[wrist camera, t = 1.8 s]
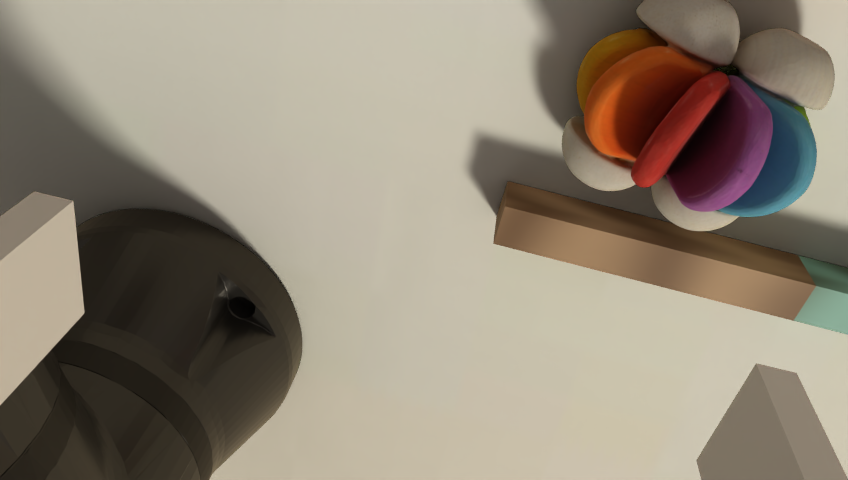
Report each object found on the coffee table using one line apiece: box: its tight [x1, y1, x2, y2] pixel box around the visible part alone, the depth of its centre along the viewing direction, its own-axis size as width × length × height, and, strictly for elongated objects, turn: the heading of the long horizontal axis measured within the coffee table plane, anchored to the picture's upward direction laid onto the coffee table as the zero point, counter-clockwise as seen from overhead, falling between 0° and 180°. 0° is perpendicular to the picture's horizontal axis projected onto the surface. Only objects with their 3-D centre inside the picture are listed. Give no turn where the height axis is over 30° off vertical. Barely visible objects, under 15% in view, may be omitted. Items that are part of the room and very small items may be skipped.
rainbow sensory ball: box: [562, 0, 835, 231], centre depth 26 cm, size 8×10×7 cm
